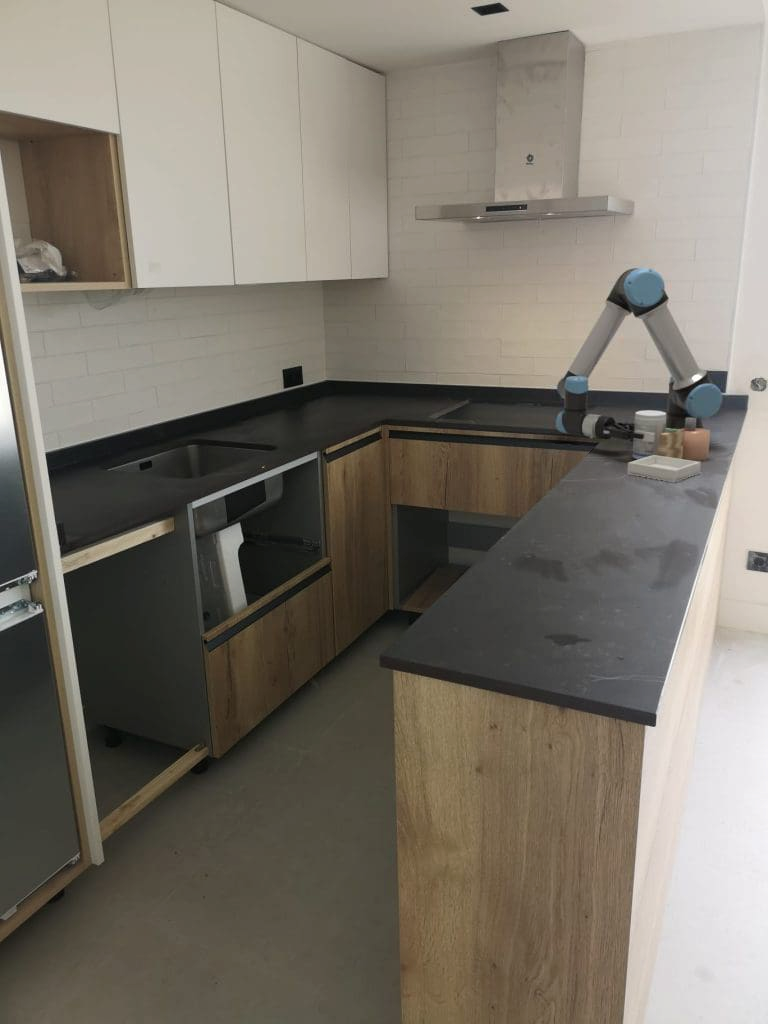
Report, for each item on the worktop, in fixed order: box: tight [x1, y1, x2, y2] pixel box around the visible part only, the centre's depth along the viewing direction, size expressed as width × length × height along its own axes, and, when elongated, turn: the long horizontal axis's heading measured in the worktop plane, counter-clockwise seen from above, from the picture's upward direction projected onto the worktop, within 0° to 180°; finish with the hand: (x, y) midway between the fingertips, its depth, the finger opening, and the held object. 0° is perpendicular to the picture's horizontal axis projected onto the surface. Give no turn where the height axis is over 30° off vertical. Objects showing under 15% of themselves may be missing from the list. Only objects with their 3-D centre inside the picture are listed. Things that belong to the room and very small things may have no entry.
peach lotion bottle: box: [682, 417, 711, 462], centre depth 256 cm, size 9×9×13 cm
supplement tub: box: [632, 409, 667, 460], centre depth 254 cm, size 10×10×15 cm
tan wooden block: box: [658, 429, 685, 459], centre depth 249 cm, size 12×2×11 cm, turn 133°
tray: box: [626, 455, 702, 484], centre depth 237 cm, size 15×15×4 cm
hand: (662, 435), depth 251 cm, fingers closed on supplement tub, 9 cm apart
